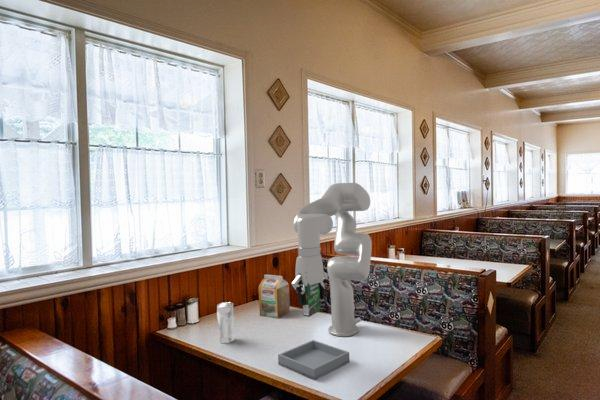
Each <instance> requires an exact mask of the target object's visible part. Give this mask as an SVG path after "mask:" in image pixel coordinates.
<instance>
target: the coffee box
mask: <svg viewBox="0 0 600 400" xmlns="http://www.w3.org/2000/svg"><path fill="white" fill-rule="evenodd" d="M301 283H302V280H301ZM302 284H303V283H302ZM302 288H303V286H302V287H301V289H302ZM304 294H306V305H305V306H304V305H302V315H303V316H302V317H308V318H309V317H312V316H313V315H315V314H317V313H319V312H320V311H322V307H321V305H322V304H321V299H320V284H319V283H318V284H315V285H309V283H308V284H307V286H306V290H305V292H304Z"/></svg>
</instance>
